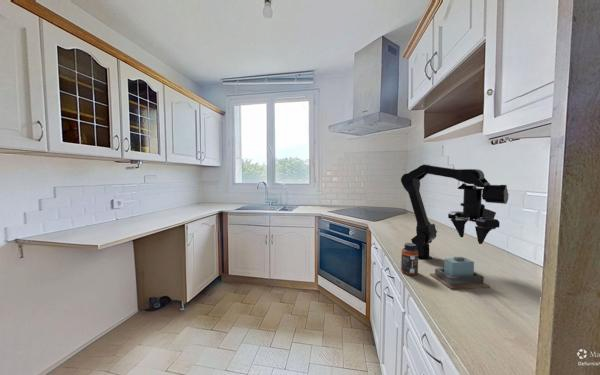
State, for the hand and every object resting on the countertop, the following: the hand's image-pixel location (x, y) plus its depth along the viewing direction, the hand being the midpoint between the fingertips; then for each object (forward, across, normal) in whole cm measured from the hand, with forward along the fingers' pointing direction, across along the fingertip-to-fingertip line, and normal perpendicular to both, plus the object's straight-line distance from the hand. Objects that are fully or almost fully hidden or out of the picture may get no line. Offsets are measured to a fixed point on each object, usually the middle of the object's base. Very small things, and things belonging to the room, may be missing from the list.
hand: (470, 240), depth 93 cm
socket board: (+12, -8, +12) cm, 19 cm away
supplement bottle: (+12, 0, +25) cm, 28 cm away
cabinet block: (+11, -8, +12) cm, 18 cm away
